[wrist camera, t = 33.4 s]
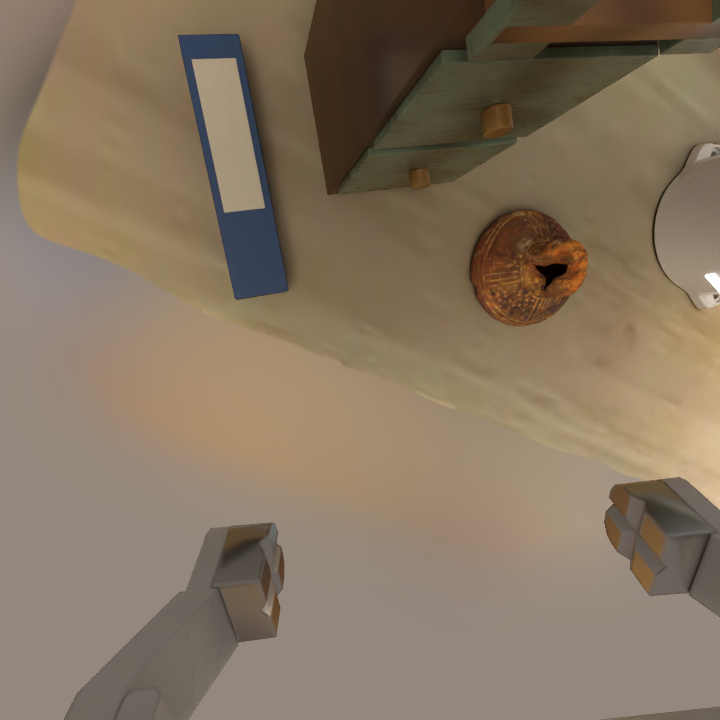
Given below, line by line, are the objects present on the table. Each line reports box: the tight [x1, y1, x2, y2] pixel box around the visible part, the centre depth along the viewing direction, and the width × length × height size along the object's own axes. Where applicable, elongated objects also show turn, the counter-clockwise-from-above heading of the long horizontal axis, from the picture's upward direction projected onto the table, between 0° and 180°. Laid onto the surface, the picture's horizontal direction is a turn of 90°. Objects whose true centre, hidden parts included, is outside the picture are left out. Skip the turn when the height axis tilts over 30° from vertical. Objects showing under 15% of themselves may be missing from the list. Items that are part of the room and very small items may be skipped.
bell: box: [471, 210, 588, 326], centre depth 40 cm, size 12×12×7 cm
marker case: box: [178, 34, 288, 300], centre depth 34 cm, size 4×20×3 cm, turn 9°
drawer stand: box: [304, 0, 720, 195], centre depth 24 cm, size 12×13×30 cm
